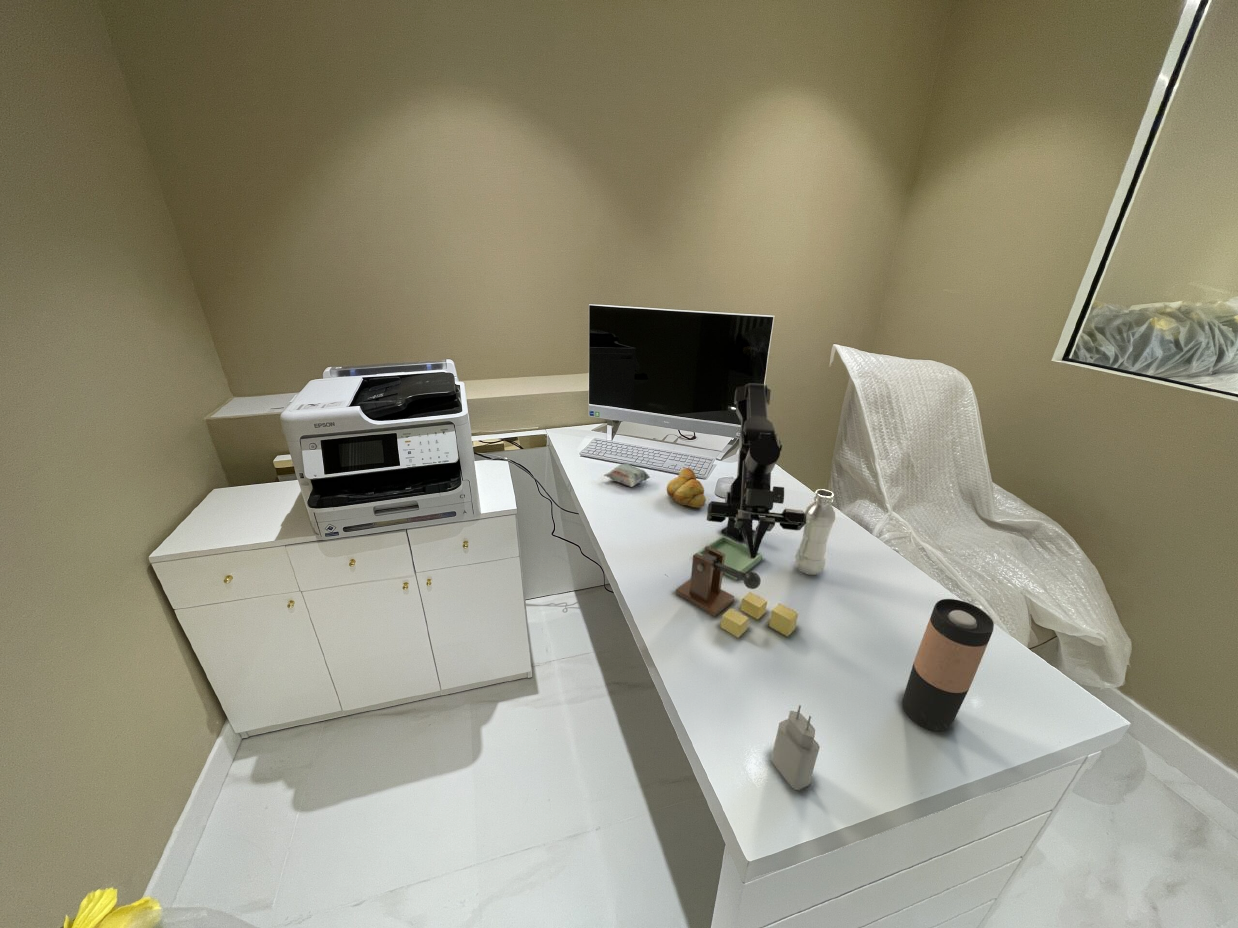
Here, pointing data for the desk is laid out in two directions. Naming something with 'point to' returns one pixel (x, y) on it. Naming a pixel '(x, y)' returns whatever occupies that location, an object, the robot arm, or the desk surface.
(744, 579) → the ball knob lever
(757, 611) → the butter
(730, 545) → the tray
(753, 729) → the desk surface
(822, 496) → the plastic bottle
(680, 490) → the bread roll
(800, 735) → the power adapter
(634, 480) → the packaged food
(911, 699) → the travel mug
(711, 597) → the brown lever stand
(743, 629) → the butter
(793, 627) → the block
